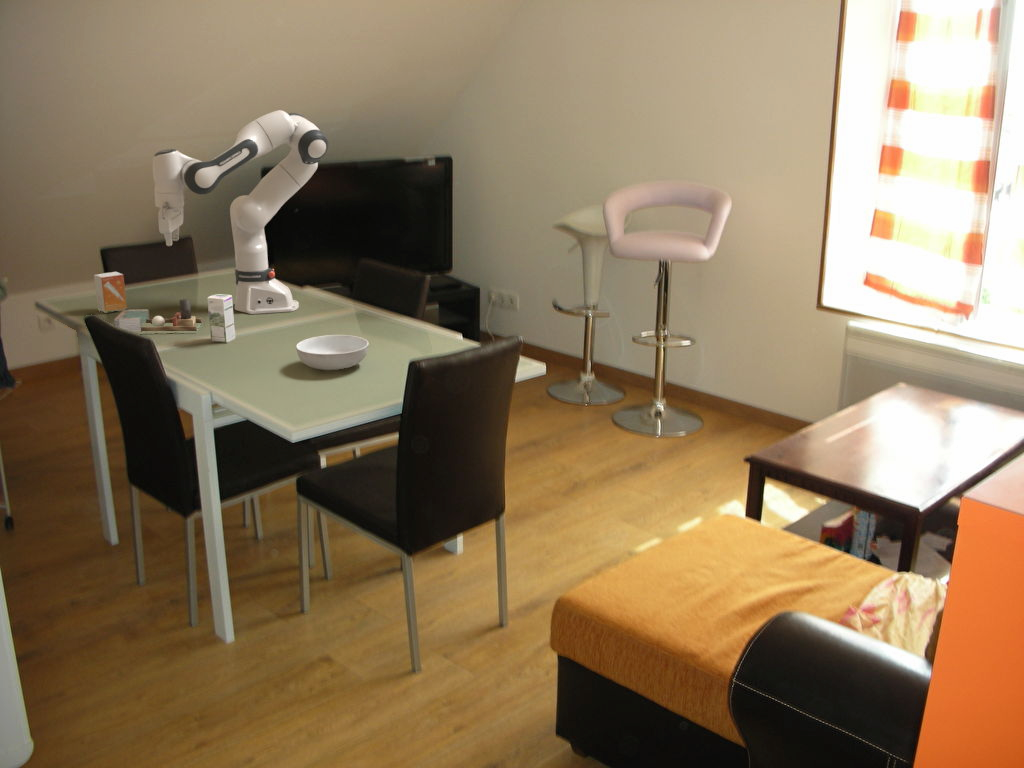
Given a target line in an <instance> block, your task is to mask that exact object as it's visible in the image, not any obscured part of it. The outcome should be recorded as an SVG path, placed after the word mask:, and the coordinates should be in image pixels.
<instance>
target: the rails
mask: <svg viewBox="0 0 1024 768" xmlns="http://www.w3.org/2000/svg"><path fill="white" fill-rule="evenodd" d="M195 318H196V323H202V322H203V318H202V317H195ZM152 319H153V318H149V319H148V320H146V323H151V324H152ZM164 320H165V323H173V322H172V318H164ZM202 324H203V323H202ZM142 331H197V326H160V327H142ZM197 332H198V331H197Z"/></svg>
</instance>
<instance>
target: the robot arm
mask: <svg viewBox="0 0 1024 768" xmlns="http://www.w3.org/2000/svg"><path fill="white" fill-rule="evenodd" d="M237 132H238V133H236V134H237V135H236V138H235V142H234V144H233V145H232V146H231V147H230V148H228V149H227V150H225V151H224V152H222V153H221V154H219V155H218V156H216V157H214V158H213V159H211V160H207V161H203V160H200V159H197V158H193V157H190V156H187V155H186V154H183V153H182V152H180V151H179V150H177V149H175V148H170V149H168V148H167V149H163V150H159V151H157V152H156V153H155V154H154V155H153V158H152V175H153V176H152V177H153V182H154V192H153V193H154V203H155V204H154V205H155V207H156V208H159V210H158V214H157V215H158V216H157V217H158V218H157V219H158V220H157V221H158V231H159V234H162V235H163V236H164V239H165V240H164V241H165V245H166V246H167V247H171V246H172V245H173V243H174V242H178V241H179V239H180V238H179V237H180V236H179V235H180V227H181V226H182V225H183V223H184V206H185V202H186V200H185V199H186V198H185V195H184V189H185V188H186V189H189V190H190V191H191V192H192V193H195V194H198V195H207V194H210V193H212V192H213V191H214V190H215V189H216V188H217V187H218V185H219V183H220V182H221V181H222V180H223V179H224V177H226V176H228V175H229V174H230V173H232V172H234V171H235V170H237V169H239V168H240V167H242V166H243V165H244V164H246V163H249V162H250V161H253V160H255V159H256V158H259V157H262V156H264V155H267V154H268V153H270V152H271V151H273V150H275V149H276V148H278V147H279V146H281V145H284V144H287V145H288V147H290V151H289V153H288V154H287V156H286V157H285V158H283V159H282V160H281V161H280V162H279V163H278V164H277V165H275V166H274V167H273V168H272V169H271V170H269V171H268V173H266V175H265V176H263V177H262V178H261V179H260V181H259V182H258V184H257V185H256V186H255V187H254V189H252V191H251V192H250V193H249V194H247V195H246V194H245V195H239V196H238V197H236V198H235V199H233V201H232V202H231V204H230V206H229V207H230V208H229V213H230V214H229V215H230V224H231V231H232V238H233V245H234V259H235V270H234V280H235V281H234V282H235V284H236V297H235V304H234V306H233V310H235V311H238V312H242V313H246V314H250V315H257V314H271V313H273V314H274V313H286V312H294V311H296V310H298V309H299V307H300V303H299V301H298V300H296V299H293V294H292V292H291V290H290V287H288V286H287V285H285V284H284V283H282V282H281V281H280V280H278V279H276V272H275V269H274V268H271V267H269V260H268V256H269V255H268V243H267V240H266V234H265V233H266V232H265V226H267V224H268V223H269V222H270V221H271V220H272V219H273V217H274V216H276V214H277V213H278V211H279V210H280V209H282V208H281V207H283V205H285V203H286V202H288V200H289V199H290V198H292V197H293V196H294V195H295V194H296V193H297V192H298V191H299V190H300V189H301V188H302V187H303V186H304V185H305V184H306V183H308V181H309V180H310V179H311V178H312V177H313V175H314V173H316V171H317V169H318V166H319V162H320V161H321V159H323V157H324V156H325V155H326V153H327V151H328V150H329V140H328V138H327V136H326V135H325V134H324V132H322V131H321V130H320V129H319V128H318V127H317V126H316V124H314V123H313V122H311V121H309V120H308V119H307V118H306V117H304V116H303V115H301V114H300V113H296V112H288V113H287V112H286V111H284V110H282V109H280V110H279V109H278V110H274V111H271V112H268V113H266V114H264V115H262V116H260V117H258V118H256V119H254V120H252V121H250V122H248V123H247V124H246V125H244V126H243V127H242V128H241V129H240V130H239V131H237Z"/></svg>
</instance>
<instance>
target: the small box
mask: <svg viewBox="0 0 1024 768" xmlns="http://www.w3.org/2000/svg"><path fill="white" fill-rule="evenodd" d="M93 280H94V288H95V296H96V299H95V300H96V307H97V309H98V308H99V309H101V310H103V311H110V310H118V309H123V308H127V307H128V306H127V298H126V287H125V286H126V285H125V276H124V274H123V273H120V272H118V271H112V272H103V273H99V274H93Z"/></svg>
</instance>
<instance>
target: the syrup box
mask: <svg viewBox="0 0 1024 768" xmlns="http://www.w3.org/2000/svg"><path fill="white" fill-rule="evenodd" d="M206 298H207V299H206V300H207V308H208V309H207V310H208V311H207V312H208V319H209V330H210V341H211V342H215V343H226V344H228V343H229V342H231V341H233V340H235V339H236V330H235V329H236V328H235V318H234V306H233V305H234V304H233V296H232V294H224V293H223V294H222V293H221V294H220V293H214V294H211V295H210V296H208V297H206Z"/></svg>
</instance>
